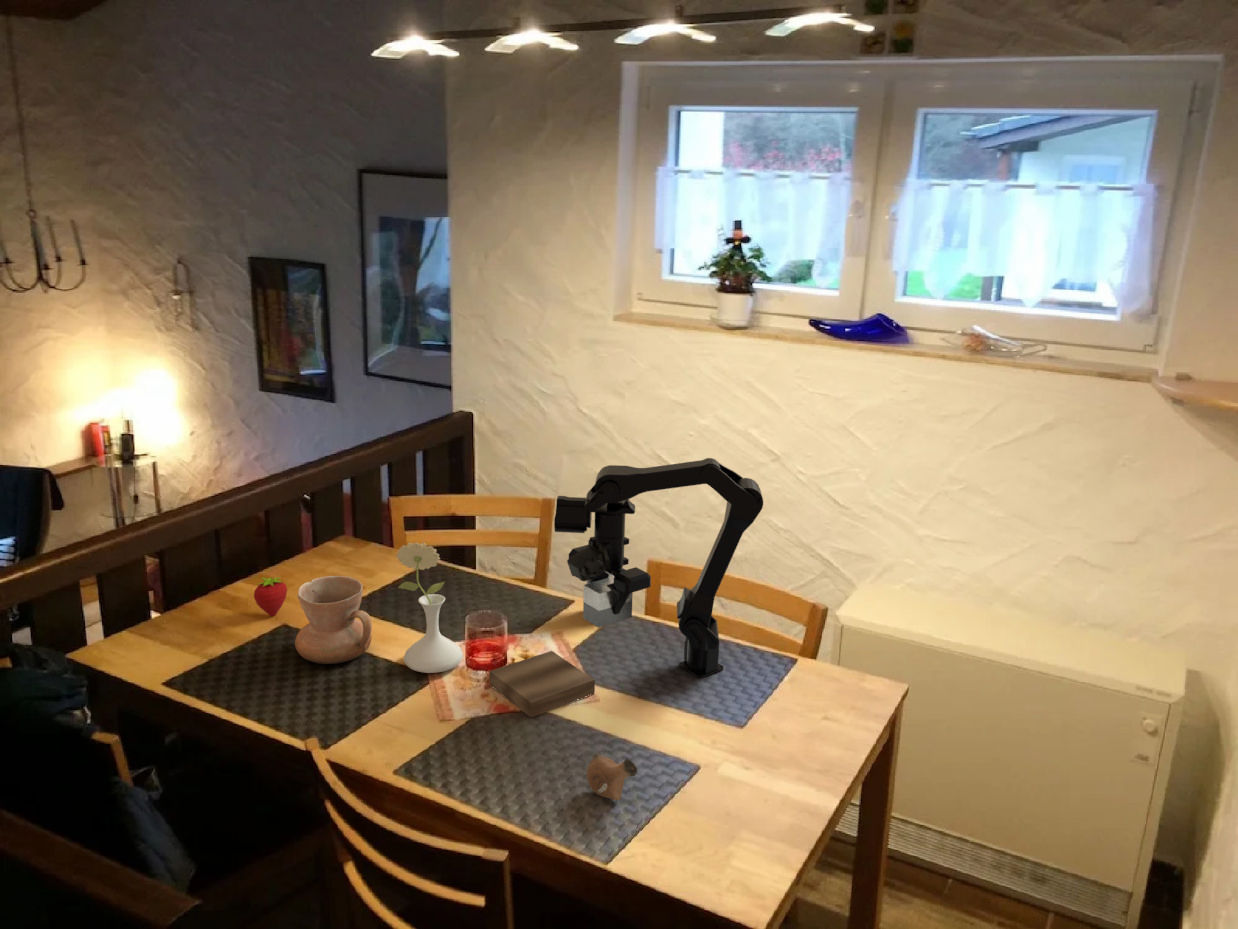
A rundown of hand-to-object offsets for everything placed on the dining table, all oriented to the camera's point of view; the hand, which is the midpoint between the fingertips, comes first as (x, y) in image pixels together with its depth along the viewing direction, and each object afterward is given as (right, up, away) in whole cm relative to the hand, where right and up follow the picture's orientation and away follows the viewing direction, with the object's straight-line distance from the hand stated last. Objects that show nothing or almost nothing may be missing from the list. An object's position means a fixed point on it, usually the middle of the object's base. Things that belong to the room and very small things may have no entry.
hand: (607, 609), depth 198 cm
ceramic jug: (-53, -10, +5) cm, 55 cm away
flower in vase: (-35, -11, +2) cm, 36 cm away
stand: (-12, -14, -7) cm, 20 cm away
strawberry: (-71, -4, +20) cm, 74 cm away
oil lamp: (+1, -24, -38) cm, 45 cm away
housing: (0, -2, +1) cm, 2 cm away
